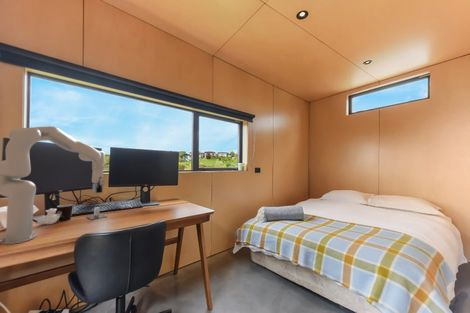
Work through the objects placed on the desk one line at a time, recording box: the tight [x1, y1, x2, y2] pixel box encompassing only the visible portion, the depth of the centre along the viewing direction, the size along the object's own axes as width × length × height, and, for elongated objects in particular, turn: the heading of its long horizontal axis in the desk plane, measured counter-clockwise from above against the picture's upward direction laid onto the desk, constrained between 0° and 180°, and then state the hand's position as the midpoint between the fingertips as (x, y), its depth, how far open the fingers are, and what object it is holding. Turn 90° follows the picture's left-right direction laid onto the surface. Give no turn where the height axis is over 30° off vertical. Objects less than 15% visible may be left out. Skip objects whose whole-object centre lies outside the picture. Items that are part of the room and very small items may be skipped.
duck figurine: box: [37, 208, 60, 226], centre depth 131 cm, size 12×8×11 cm
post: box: [86, 207, 108, 221], centre depth 147 cm, size 10×10×7 cm
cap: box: [92, 183, 104, 194], centre depth 147 cm, size 5×5×7 cm
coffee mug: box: [54, 203, 74, 222], centre depth 140 cm, size 12×9×10 cm
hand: (97, 191), depth 147 cm, fingers closed on cap, 5 cm apart
